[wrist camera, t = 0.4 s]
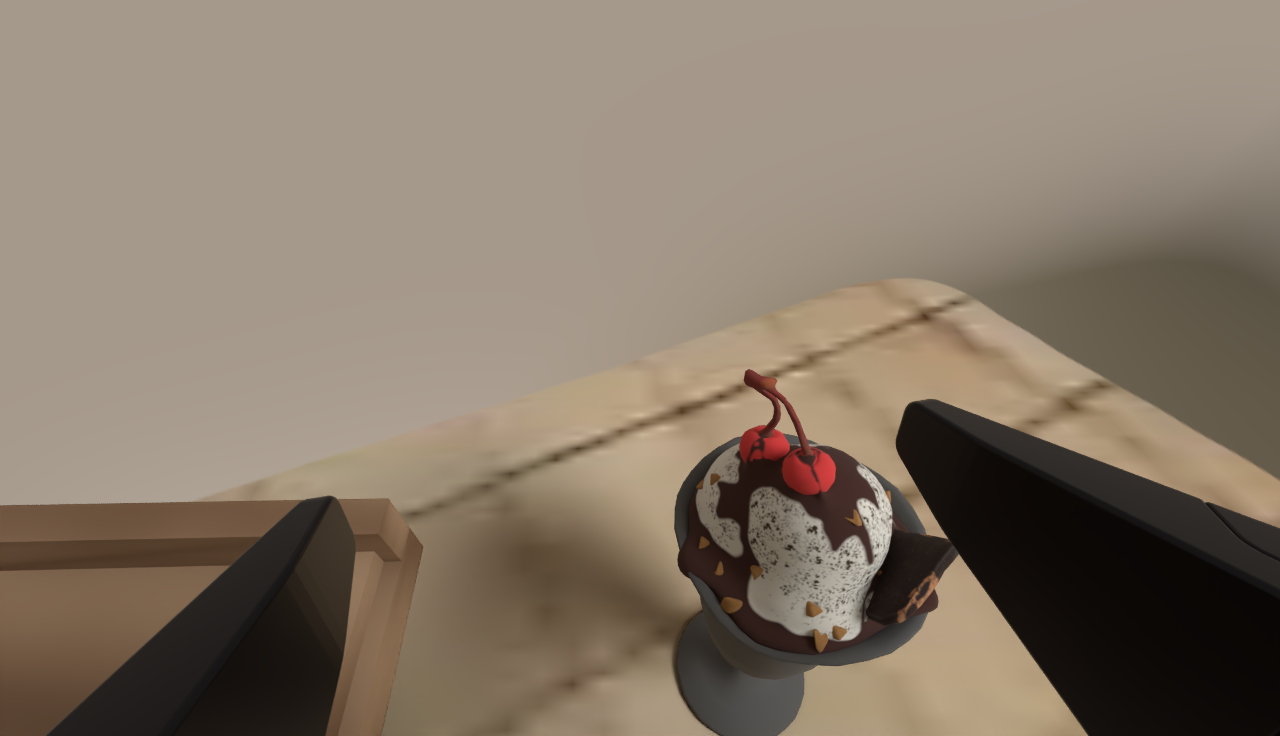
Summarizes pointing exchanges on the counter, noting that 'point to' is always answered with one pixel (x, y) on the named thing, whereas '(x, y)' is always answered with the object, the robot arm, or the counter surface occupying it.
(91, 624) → the wooden tray
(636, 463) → the counter surface
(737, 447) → the sundae
